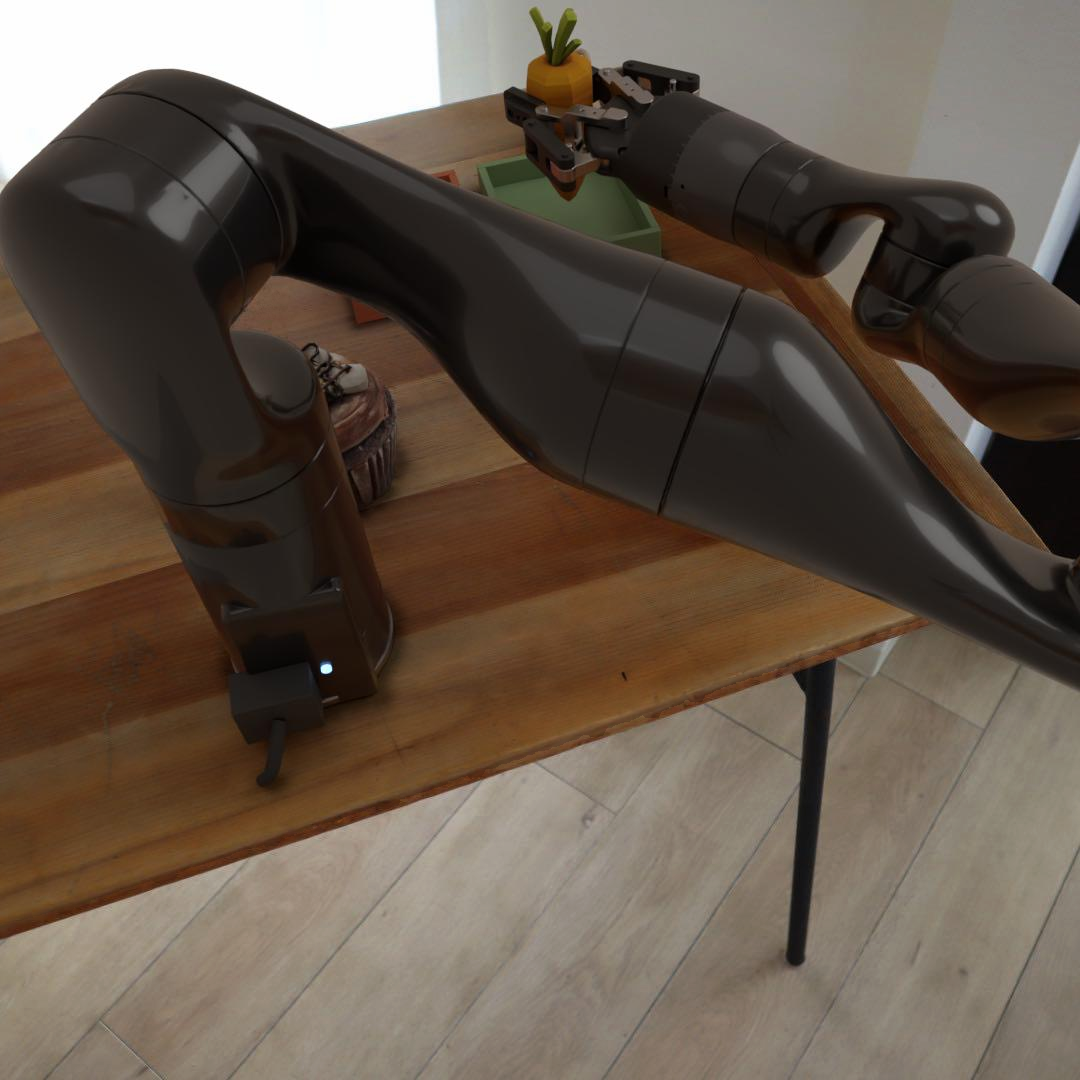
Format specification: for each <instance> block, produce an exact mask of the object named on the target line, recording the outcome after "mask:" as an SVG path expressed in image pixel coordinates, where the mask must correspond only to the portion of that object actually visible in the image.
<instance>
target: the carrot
mask: <svg viewBox="0 0 1080 1080" xmlns="http://www.w3.org/2000/svg"><path fill="white" fill-rule="evenodd" d="M528 14H529V16H530V18H531V20H532V22H533V23H534V26H535V28H536V30H537V32H538V35H539V37H540V41H541V45H542V48H543V50H544V53H543V54H541V55H539V56H538V57H535V58H534V59H532V60H531V61H530V62H529V63H528V66H527V71H526V84H525V87H526V88H525V90H526V93H529V94H531V95H533V96H535V97H537V98H539V99H541V100H543V101H545V102H546V104H548V105H553V106H558V107H562V108H567V109H568V108H570V106H571V105H572V104H580V105H585V106H590V107H593V82H592V66H593V65H592V62H591V63H590V60H588V59H587V58H585V57H584V56H583V55H579V54H577V53H575V52H574V51H575V50H577V49H579V47H580V46H581V45H582V44H583V41H582V39H580V38H574V39H571V40H570V41H569V39H570V37H571V36H572V33H573V32H574V30H575V27H576V24H577V23H578V15H577V14H576V13H575V12H574V9H573V8H572V7H567V8H566V9H565V10H564V11H563V13H562V15H561V17H560V19H559V23H558V26H557V31H556V33H555V37H554V41H552V39H553V24H552V23H551V22H549V21H546V22H545V19H544V18H543V15H542V13H541V11H540V10H539V8H538V7H537V6H534V7H531V8H530V10H529V11H528ZM554 125H555V131H557V132H561V133H564V127H563V125H562V124H560V123H555V122H554ZM581 126H582V138H583V140H584V123H583V122H581ZM584 178H585V175H584V176H581V177H579V178H576V184H577V187H576V189H575V190H574V191H572V192H562V191H560V190H559V189H558V188H557V187H556V186H555V185H554V184H553V183H552V182H551V181H550V180H549V181H550V182H551V184H552V186H553V187H554V188H555V190H556V191H557V192H558V194H559V195H560V196H561V197H562V198H563V199H565V200H567V201H571V200H572V199H573V198H574V197H576V195H577V193H578V191H579V189H580V187H581V185H582V183H583V181H584Z"/></svg>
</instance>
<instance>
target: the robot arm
mask: <svg viewBox="0 0 1080 1080" xmlns="http://www.w3.org/2000/svg"><path fill="white" fill-rule="evenodd" d="M591 66H592V82H593V103H595V102H596V101H599V104H600V107H601V108H595V107H590V106H585V105H580V104H572V105H571V106H570V108H568V109H567V108H562V107H558V106H553V105H548V104H546V102H545V101H543V100H541V99H539V98H537V97H535V96H533V95H531V94H529V93H527V91H524V90H522V89H520V88H518V87H516V86H511V87H508V88H507V89H504V91H503V93H502V94H503V104H504V106H503V107H504V113H505V114H504V115H505V118H506V120H507V121H508V122H509V123H511V124H514V125H515V126H517V127H519V128H521V129H523V130H522V131H523V134H524V135H523V136H524V144H525V149H524V150H525V155H526V157H527V158H528V159H529V160H530V161H531V162H532V163H533V164H534V165H535V166H536V167H537V168H538V169H539V170H540V171H541V172H542V173H543V174H544V175H545V176H546V177H547V178H548V179H549V180H550V181H551V182H552V183H553V184H554V185H555V186H556V187H557V188H558V189H559V190H560V191H562V192H572V191H574V190H575V189H576V187H577V184H576V178H579V177H581V176H584V175H587V174H589V173H592V172H596V173H597V174H599V175H601V176H608V177H615V178H618V179H620V180H621V181H622V182H623V183H624V184H625V185H626V186H627V188H628V189H629V190H630V191H631V193H632V194H633V195H634V196H635V197H636V198H637V199H638V200H640V201H642V202H644V203H646V204H647V205H648V207H649V206H650V207H652V208H654V209H655V210H657V211H659V212H661V213H663V214H665V215H666V216H669V217H671V218H673V219H675V220H677V221H679V222H681V223H683V224H685V225H687V226H689V227H690V228H693V229H695V230H696V231H698V232H701V233H703V234H705V235H706V236H709V237H711V238H713V239H715V240H717V241H720V242H724V243H727V244H730V245H733V246H736V247H739V248H741V249H743V250H745V251H747V252H748V253H751V254H753V255H754V256H756V257H758V258H760V259H762V260H765V261H766V262H768V263H770V264H772V265H774V266H776V267H777V268H780V269H782V270H783V271H786V272H788V273H790V274H792V275H794V276H797V277H800V278H804V279H811V280H812V279H813V280H814V279H819V278H820V279H821V278H823V277H825V276H827V275H829V274H830V273H831V272H833V271H834V270H836V269H837V268H838V267H839V266H840V265H841V264H842V263H843V262H844V261H845V259H846V258H847V257H848V256H849V254H850V253H851V252H852V250H853V249H854V248H855V247H856V245H857V244H858V242H859V241H860V239H861V238H862V237H863V235H864V234H865V233H866V232H867V230H868V229H869V228H870V227H872V225H873V224H874V223H876V222H878V221H879V220H881V221H882V222H883V225H882V229H881V232H880V233H879V234H878V237H877V240H876V242H875V244H874V247H873V249H872V251H871V254H870V256H869V259H868V261H867V262H866V263H867V264H866V265H865V267H864V270H863V273H862V275H861V277H860V279H859V282H858V283H857V286H856V288H855V291H854V293H853V297H852V300H851V305H850V317H851V324H852V328H853V330H854V333H855V334H856V336H857V338H858V339H859V340H860V342H861V343H863V344H864V346H867V347H868V348H869V349H870V350H872V351H874V352H876V353H878V354H880V355H883V356H885V357H887V358H889V359H892V360H896V361H900V362H902V363H906V364H910V365H915V366H918V367H920V368H922V369H924V370H925V371H927V372H929V373H930V374H932V375H933V376H934V377H935V379H936V380H938V382H939V383H940V384H941V385H942V387H943V388H944V389H945V390H946V391H947V392H948V393H949V394H950V396H951V397H952V398H953V399H954V400H955V401H956V402H957V404H958V405H959V406H960V407H961V408H962V409H963V410H964V411H965V412H966V413H967V414H968V415H969V416H971V418H973V420H975V421H976V422H978V423H979V424H981V425H983V426H984V427H986V428H988V429H989V430H990V431H992V432H994V433H998V434H1000V435H1003V436H1006V437H1008V438H1011V439H1014V440H1019V441H1020V440H1021V441H1025V442H1026V441H1028V442H1036V443H1049V442H1051V443H1052V442H1062V441H1072V440H1080V304H1078V303H1077V302H1076V301H1075V300H1073V299H1072V298H1071V297H1069V295H1066V294H1065V293H1064V292H1063V291H1062V290H1060V289H1059V288H1058V287H1056V286H1055V285H1053V284H1052V283H1051V282H1050V281H1048V280H1047V279H1046V278H1045V277H1043V276H1042V275H1041V274H1039V273H1038V272H1037V271H1035V270H1034V269H1033V268H1031V267H1030V266H1029V265H1027V264H1026V263H1024V262H1021V261H1019V260H1017V259H1015V258H1013V257H1010V256H1009V254H1010V252H1011V250H1012V247H1013V244H1014V241H1015V238H1016V229H1017V228H1016V224H1015V219H1014V217H1013V215H1012V213H1011V210H1010V209H1009V208H1008V206H1007V205H1006V203H1005V202H1004V201H1003V200H1002V199H1001V198H1000V197H999V196H998V195H997V194H995V193H994V192H992V191H990V190H989V189H987V188H986V187H985V188H984V187H982V186H981V185H977V184H974V183H970V182H965V181H961V180H960V181H959V180H951V179H950V180H949V179H940V178H926V177H912V176H910V177H909V176H900V175H892V174H886V173H885V174H884V173H879V172H873V171H869V170H865V169H861V168H857V167H855V166H854V167H853V166H850V165H847V164H844V163H842V162H840V161H837V160H834V159H832V158H829V157H828V156H826V155H825V156H824V155H822V154H821V153H818V152H816V151H813V150H811V149H808V148H807V147H804V146H802V145H799V144H798V143H795V142H793V141H791V140H789V139H788V138H786V137H784V136H783V135H781V134H780V133H778V132H777V131H775V130H774V129H772V128H771V127H768V126H766V125H765V124H762V123H760V122H758V121H756V120H753V119H751V118H749V117H746V116H744V115H742V114H740V113H737V112H735V111H733V110H730V109H728V108H726V107H723V106H721V105H719V104H716V103H714V102H712V101H710V100H707V99H706V98H703V97H700V96H701V95H700V93H701V91H700V89H701V76H700V75H699V74H697V73H694V72H688V71H685V70H681V69H675V68H672V67H666V66H663V65H659V64H653V63H649V62H645V61H639V60H636V59H635V60H634V59H628V60H626V61H624V62H623V63H622V66H621V67H622V68H621V69H618V70H616V69H615V68H613V67H602V68H598V67H596V66H594V65H591ZM641 79H645V80H648V81H649V82H650V88H646V87H642V86H641ZM554 122H555V123H560V124H562V125H563V127H564V133H561V132H557V131H555V125H554ZM581 122H583V123H584V140H583V138H582V126H581ZM0 257H1V259H2V263H3V265H4V268H5V270H6V272H7V274H8V276H9V278H10V280H11V282H12V285H13V287H14V288H15V290H16V292H17V294H18V296H19V298H20V299H21V301H22V303H23V304H24V306H25V308H26V310H27V311H28V313H29V315H30V317H31V318H32V319H33V321H34V323H35V324H36V326H37V328H38V329H39V331H40V332H41V334H42V336H43V338H44V340H45V341H46V342H47V344H48V346H49V347H50V349H51V351H52V352H53V354H54V355H55V357H56V359H57V360H58V362H59V363H60V366H61V367H62V368H63V370H64V372H65V374H66V375H67V378H68V379H69V381H70V382H71V384H72V385H73V387H74V389H75V391H76V393H77V394H78V396H79V397H80V399H81V401H82V402H83V404H84V406H85V407H86V409H87V411H88V413H89V414H90V415H91V417H92V418H93V419H94V420H95V422H96V424H98V426H99V427H100V428H101V429H102V430H103V432H105V434H106V435H107V436H108V437H109V438H110V439H111V440H112V441H113V443H114V444H116V445H117V446H118V447H119V449H121V450H122V452H123V453H124V454H125V455H126V456H127V457H128V459H130V461H131V462H132V465H133V466H134V469H135V470H136V472H137V474H138V476H139V478H140V480H141V481H142V484H143V485H144V487H145V490H146V492H147V494H148V496H149V498H150V500H151V502H152V504H153V506H154V507H155V510H156V511H157V512H156V513H157V514H158V516H159V518H160V520H161V522H162V524H163V526H164V528H165V531H166V532H167V534H168V536H169V538H170V540H171V542H172V545H173V547H174V548H175V550H176V552H177V554H178V556H179V558H180V560H181V563H182V564H183V566H184V568H185V570H186V572H187V574H188V577H189V578H190V580H191V583H192V584H193V587H194V588H195V590H196V593H197V594H198V596H199V598H200V600H201V602H202V605H203V606H204V608H205V611H206V612H207V614H208V617H209V619H210V621H211V622H212V624H213V627H214V628H215V631H216V632H217V634H218V637H219V638H220V640H221V642H222V644H223V646H224V648H225V650H226V652H227V654H228V655H229V658H230V660H231V665H232V667H233V670H234V672H235V673H231V674H228V676H227V681H228V692H229V693H228V694H229V704H230V705H229V706H230V715H231V717H232V719H233V721H234V723H235V725H236V726H237V728H238V730H239V732H240V734H241V735H242V737H243V739H244V742H245V744H247V746H249V745H254V744H257V743H261V742H266V741H269V742H268V743H269V744H268V750H267V758H266V762H265V765H264V768H263V771H262V772H260V774H258V775H257V776H256V779H255V783H256V785H257V786H258V787H260V788H267V787H268V786H270V785H271V784H273V783H274V782H275V781H276V780H277V777H278V774H279V771H280V768H281V765H282V759H283V754H284V748H285V747H284V746H285V737H286V736H290V735H293V734H297V733H301V732H305V731H309V730H314V729H317V728H321V727H322V728H323V727H325V726H326V720H325V719H326V718H325V713H324V708H326V707H330V706H333V705H335V704H339V703H343V702H347V701H351V700H355V699H359V698H363V697H368V696H371V695H375V694H376V693H377V692H378V691H379V688H378V687H379V686H378V682H377V681H378V679H377V678H378V677H377V676H378V674H379V673H380V672H381V670H382V669H383V668H384V667H385V664H386V663H387V661H388V659H389V657H390V655H391V653H392V649H393V647H394V642H395V641H394V640H395V622H394V617H393V613H392V610H391V607H390V604H389V602H388V600H387V599H386V596H385V593H384V589H383V586H382V583H381V579H380V575H379V573H378V571H377V567H376V564H375V560H374V558H373V553H372V550H371V547H370V544H369V540H368V538H367V537H368V536H367V533H366V531H365V528H364V527H365V526H364V524H363V521H362V518H361V517H362V516H361V514H360V511H359V510H358V507H357V504H356V500H355V497H354V494H353V490H352V487H351V484H350V480H349V477H348V474H347V470H346V467H345V464H344V460H343V457H342V453H341V449H340V446H339V442H338V439H337V436H336V432H335V429H334V426H333V422H332V419H331V416H330V412H329V409H328V405H327V402H326V398H325V395H324V391H323V388H322V385H321V382H320V379H319V377H318V374H317V372H316V369H315V368H314V366H313V364H312V362H311V361H310V360H309V358H308V357H307V356H306V354H305V353H304V352H303V351H302V350H301V348H300V347H298V346H297V345H296V344H295V343H293V342H291V341H290V340H288V339H286V338H284V337H282V336H280V335H277V334H274V333H271V332H267V331H263V330H258V329H252V328H251V329H250V328H231V327H232V326H233V325H234V323H235V322H236V321H237V320H238V318H239V317H240V316H241V315H242V314H243V312H244V311H245V310H246V308H247V307H248V306H249V305H250V304H251V302H252V301H253V300H254V299H255V297H256V296H257V295H258V293H259V292H260V291H261V289H262V288H263V287H264V286H265V285H266V284H267V282H268V281H269V280H270V278H271V277H283V278H290V279H292V280H297V281H301V282H304V283H307V284H310V285H313V286H316V287H318V288H322V289H324V290H327V291H329V292H333V293H335V294H338V295H340V296H343V297H345V298H347V299H349V300H351V299H352V300H354V301H357V302H359V303H361V304H363V305H365V306H367V307H370V308H372V309H374V310H376V311H378V312H379V313H381V314H383V315H385V316H387V318H389V319H390V320H392V321H393V322H394V323H396V324H397V325H398V326H400V327H401V328H402V329H404V330H405V331H407V333H409V334H410V335H411V336H412V337H414V338H415V340H417V341H418V342H419V343H420V344H421V346H422V347H424V349H425V350H426V351H427V352H428V353H429V354H430V355H431V357H433V359H434V360H435V361H436V362H437V363H438V364H439V365H440V367H441V368H442V369H443V370H444V372H445V373H446V374H447V375H448V376H449V378H450V379H451V380H452V382H453V383H454V384H455V385H456V387H457V388H458V389H459V390H460V391H461V393H462V394H463V396H464V397H465V398H466V399H467V400H468V402H469V403H470V404H471V405H472V406H473V408H474V409H475V410H476V411H477V412H478V414H479V415H480V416H481V417H482V418H483V419H484V420H485V422H486V423H487V424H488V425H489V426H490V427H491V428H492V430H493V431H494V432H495V433H496V434H497V435H498V436H499V437H500V438H501V439H502V441H504V442H505V444H507V445H508V446H509V447H510V448H511V449H512V450H513V451H514V452H515V453H516V454H517V455H519V457H521V458H522V459H523V460H524V461H525V462H527V463H528V464H529V465H531V466H532V467H533V468H535V469H536V470H538V471H539V472H541V473H542V474H545V475H546V476H548V477H550V478H552V479H553V480H556V481H558V482H560V483H563V484H565V485H567V486H569V487H571V488H574V489H577V490H578V491H583V492H585V493H587V494H590V495H592V496H596V497H599V498H601V499H604V500H607V501H608V502H611V503H614V504H617V505H620V506H622V507H625V508H627V509H631V510H633V511H636V512H638V513H641V514H643V515H646V516H649V517H652V518H654V519H657V518H658V517H659V518H660V521H661V522H664V523H667V524H670V525H673V526H676V527H679V528H683V529H685V530H689V531H691V532H695V533H698V534H700V535H704V536H707V537H709V538H713V539H716V540H718V541H722V542H724V543H728V544H729V545H733V546H736V547H739V548H742V549H745V550H747V551H750V552H753V553H756V554H759V555H762V556H765V557H767V558H770V559H772V560H775V561H777V562H780V563H783V564H785V565H788V566H791V567H794V568H796V569H798V570H800V571H803V572H806V573H809V574H812V575H814V576H817V577H820V578H822V579H825V580H828V581H831V582H832V583H833V582H834V583H835V584H839V585H841V586H844V587H845V588H848V589H851V590H853V591H856V592H858V593H861V594H863V595H866V596H868V597H871V598H873V599H875V600H878V601H880V602H883V603H885V604H888V605H890V606H892V607H895V608H897V609H899V610H902V611H904V612H907V613H909V614H911V615H913V616H915V617H918V618H919V619H922V620H924V621H926V622H929V623H931V624H933V625H935V626H937V627H939V628H942V629H944V630H946V631H948V632H950V633H951V634H955V635H956V636H959V637H960V638H963V639H966V640H967V641H969V642H971V643H973V644H975V645H978V646H980V647H982V648H984V649H986V650H987V651H990V652H992V653H994V654H997V655H999V656H1001V657H1003V658H1005V659H1008V660H1009V661H1011V662H1014V663H1016V664H1017V665H1019V666H1022V667H1024V668H1026V669H1028V670H1031V671H1033V672H1035V673H1037V674H1040V675H1042V676H1043V677H1046V678H1048V679H1049V680H1052V681H1054V682H1055V683H1056V682H1057V683H1058V684H1060V685H1062V686H1065V687H1067V688H1069V689H1071V690H1073V691H1075V692H1078V693H1080V555H1079V556H1078V557H1077V558H1076V559H1075V558H1069V557H1064V556H1060V555H1057V554H1054V553H1052V552H1049V551H1046V550H1043V549H1041V548H1038V547H1036V546H1035V545H1032V544H1030V543H1029V542H1026V541H1024V540H1022V539H1021V538H1018V537H1017V536H1014V535H1013V534H1011V533H1009V532H1007V531H1005V529H1002V528H1000V527H999V526H998V525H996V524H994V523H992V522H991V521H989V520H988V519H986V518H984V517H983V516H982V515H981V514H979V513H977V512H976V511H975V510H973V509H972V508H971V507H970V506H968V505H967V504H966V503H964V501H963V500H961V499H960V498H959V497H958V496H957V495H956V494H955V493H954V492H953V491H952V490H951V489H950V488H949V487H948V486H947V485H946V484H945V483H944V482H943V481H942V479H940V478H939V477H938V476H937V475H936V474H935V473H934V471H932V470H931V468H930V467H928V465H927V464H926V463H925V462H924V461H923V459H922V458H921V457H920V456H919V454H918V453H917V452H916V451H915V450H914V448H913V447H912V446H911V445H910V443H909V442H908V441H907V440H906V438H905V437H904V435H903V434H902V433H901V431H900V430H899V428H898V427H897V426H896V425H895V423H894V421H893V420H892V419H891V418H890V416H889V415H888V414H887V412H886V411H885V409H884V408H883V407H882V405H881V404H880V402H879V401H878V400H877V398H876V397H875V396H874V395H873V393H872V391H871V390H870V388H868V387H867V385H866V383H864V381H863V380H862V378H861V376H859V374H858V373H857V372H856V370H855V369H854V368H853V367H852V366H851V365H850V363H849V362H848V361H847V359H846V358H845V357H844V356H843V355H842V353H841V352H840V351H839V350H838V348H837V347H836V346H835V345H834V344H833V343H832V342H831V341H830V339H829V338H828V337H827V336H826V335H825V334H824V333H823V332H822V331H821V329H819V328H818V327H817V326H816V325H815V324H814V322H812V321H811V320H810V319H809V318H808V317H807V316H805V315H804V314H803V313H801V312H800V311H799V310H797V309H796V308H795V307H793V306H792V305H791V304H789V303H787V302H786V301H783V300H782V299H780V298H778V297H775V296H773V295H770V294H768V293H765V292H762V291H760V290H757V289H754V288H752V287H748V288H745V286H744V285H743V284H740V283H737V282H734V281H732V280H728V279H725V278H723V277H720V276H717V275H714V274H711V273H709V272H705V271H703V270H700V269H697V268H693V267H691V266H689V265H685V264H683V263H680V262H677V261H675V260H671V259H667V258H665V257H662V256H661V257H659V256H655V255H652V254H648V253H645V252H641V251H638V250H635V249H631V248H628V247H624V246H621V245H617V244H614V243H611V242H608V241H605V240H602V239H599V238H596V237H593V236H590V235H587V234H585V233H582V232H579V231H576V230H574V229H571V228H568V227H566V226H563V225H560V224H558V223H555V222H552V221H550V220H547V219H545V218H542V217H539V216H537V215H534V214H531V213H529V212H526V211H524V210H521V209H518V208H516V207H513V206H510V205H508V204H505V203H502V202H500V201H497V200H494V199H492V198H490V197H487V196H484V195H482V194H481V193H480V192H476V191H473V190H471V189H468V188H465V187H462V186H461V185H460V186H457V185H455V184H452V183H449V182H447V181H444V180H442V179H439V178H436V177H434V176H431V175H429V173H426V172H425V171H422V170H419V169H417V168H415V167H413V166H410V165H408V164H406V163H404V162H401V161H400V160H397V159H395V158H393V157H391V156H389V155H387V154H385V153H382V152H380V151H378V150H375V149H374V148H371V147H369V146H367V145H365V144H363V143H361V142H359V141H356V140H355V139H352V138H350V137H348V136H346V135H344V134H343V133H341V132H338V131H336V130H334V129H331V128H329V127H327V126H326V125H324V124H321V123H319V122H317V121H315V120H313V119H310V118H308V117H307V116H304V115H302V114H300V113H298V112H296V111H293V110H291V109H289V108H287V107H285V106H282V105H281V104H278V103H277V102H274V101H272V100H271V99H270V100H269V99H267V98H265V97H263V96H261V95H260V94H257V93H254V92H252V91H249V90H247V89H245V88H243V87H240V86H238V85H235V84H233V83H230V82H228V81H225V80H222V79H219V78H216V77H213V76H210V75H207V74H204V73H199V72H195V71H192V70H186V69H180V68H152V69H151V68H150V69H146V70H142V71H140V72H137V73H134V74H131V75H129V76H128V77H126V78H123V79H122V80H120V81H119V82H117V83H115V84H114V85H112V86H111V87H109V88H108V89H107V90H105V92H103V93H102V94H101V95H99V96H98V97H97V98H96V99H95V100H94V101H93V102H92V103H90V104H89V106H87V108H85V109H84V110H83V111H82V112H81V113H80V114H79V115H78V116H76V117H75V119H73V120H72V121H71V122H70V123H69V124H68V125H67V126H66V127H65V128H63V129H62V130H61V131H60V132H59V133H58V134H57V135H56V136H55V137H54V138H53V139H52V140H51V141H49V142H48V143H47V144H46V145H45V146H44V147H43V148H42V149H41V150H40V151H39V152H38V153H37V154H36V155H35V156H33V158H31V159H30V161H28V162H27V163H26V164H25V165H24V166H22V168H20V170H19V171H18V172H17V173H16V174H15V175H14V176H13V177H12V178H11V179H10V180H8V182H7V183H6V184H5V186H4V187H3V188H2V190H1V191H0Z"/></svg>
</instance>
